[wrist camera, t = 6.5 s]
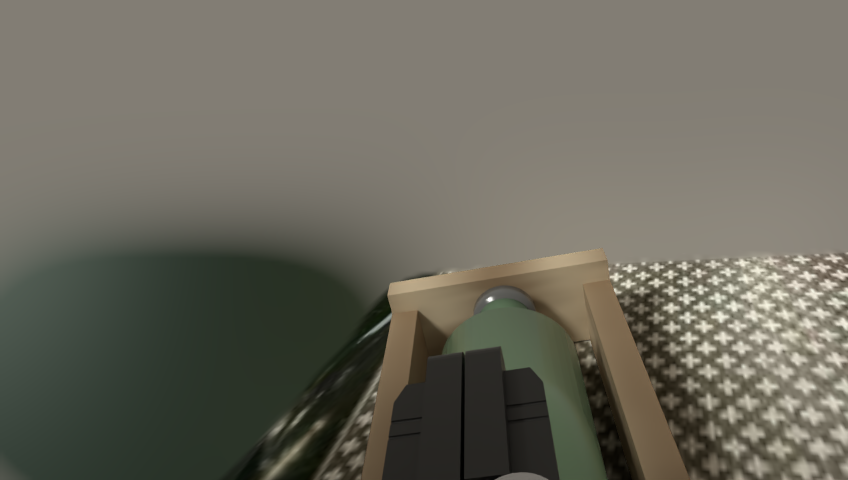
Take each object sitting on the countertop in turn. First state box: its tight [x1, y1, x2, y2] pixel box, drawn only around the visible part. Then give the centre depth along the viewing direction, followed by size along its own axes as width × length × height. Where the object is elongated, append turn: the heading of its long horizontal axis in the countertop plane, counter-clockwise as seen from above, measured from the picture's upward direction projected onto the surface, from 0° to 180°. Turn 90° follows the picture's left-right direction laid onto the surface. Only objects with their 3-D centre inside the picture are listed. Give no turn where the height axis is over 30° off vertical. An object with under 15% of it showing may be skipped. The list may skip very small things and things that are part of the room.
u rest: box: [361, 248, 690, 480], centre depth 25 cm, size 10×18×4 cm, turn 176°
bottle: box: [442, 285, 608, 480], centre depth 23 cm, size 5×5×16 cm
